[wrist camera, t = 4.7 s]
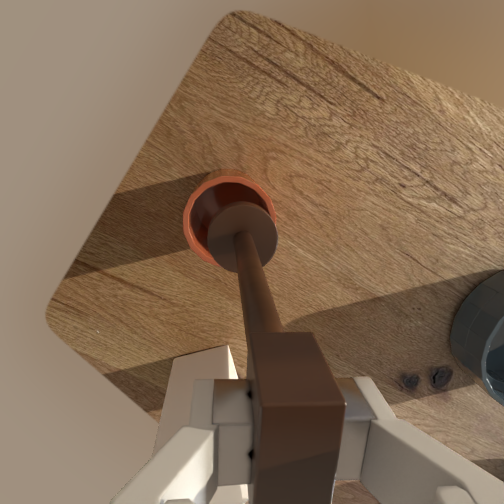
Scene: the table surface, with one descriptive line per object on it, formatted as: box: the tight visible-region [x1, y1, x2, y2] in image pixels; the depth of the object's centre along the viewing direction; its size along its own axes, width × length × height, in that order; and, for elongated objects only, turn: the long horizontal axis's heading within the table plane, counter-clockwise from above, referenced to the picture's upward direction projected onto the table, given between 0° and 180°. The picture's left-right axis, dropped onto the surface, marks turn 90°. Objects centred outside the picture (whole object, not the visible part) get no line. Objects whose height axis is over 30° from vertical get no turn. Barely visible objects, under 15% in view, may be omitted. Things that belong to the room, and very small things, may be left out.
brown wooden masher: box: [207, 201, 347, 504], centre depth 17 cm, size 5×5×20 cm
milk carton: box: [152, 345, 248, 504], centre depth 36 cm, size 7×7×19 cm
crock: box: [183, 169, 276, 267], centre depth 34 cm, size 8×8×10 cm
